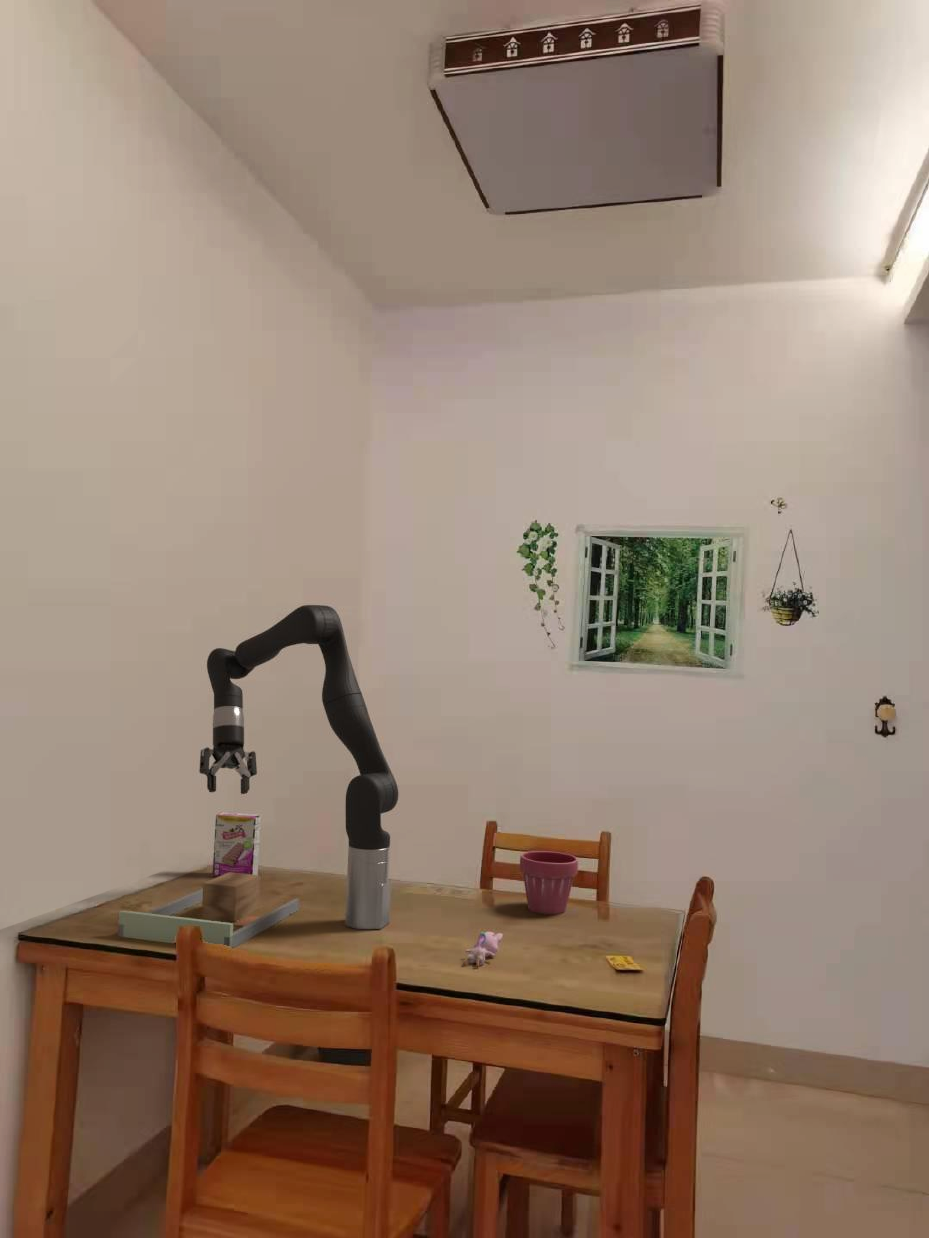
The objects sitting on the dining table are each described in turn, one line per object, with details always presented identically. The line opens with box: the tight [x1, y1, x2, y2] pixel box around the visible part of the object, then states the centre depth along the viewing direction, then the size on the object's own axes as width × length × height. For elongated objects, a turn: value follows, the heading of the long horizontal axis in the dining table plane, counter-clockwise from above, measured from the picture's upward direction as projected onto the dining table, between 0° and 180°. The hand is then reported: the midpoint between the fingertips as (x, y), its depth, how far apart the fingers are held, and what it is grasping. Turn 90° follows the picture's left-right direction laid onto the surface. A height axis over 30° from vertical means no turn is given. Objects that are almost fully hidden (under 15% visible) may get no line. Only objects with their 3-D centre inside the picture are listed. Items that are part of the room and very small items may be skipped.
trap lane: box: [117, 888, 300, 949], centre depth 205 cm, size 25×33×5 cm
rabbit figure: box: [463, 931, 503, 968], centre depth 189 cm, size 6×6×15 cm
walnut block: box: [200, 872, 261, 924], centre depth 213 cm, size 8×12×8 cm, turn 167°
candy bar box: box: [212, 811, 262, 878], centre depth 250 cm, size 11×5×16 cm, turn 84°
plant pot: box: [519, 850, 579, 915], centre depth 228 cm, size 14×14×13 cm
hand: (228, 792), depth 227 cm, fingers open, 8 cm apart
